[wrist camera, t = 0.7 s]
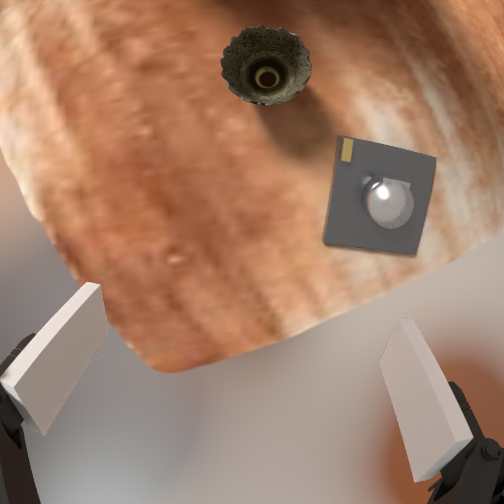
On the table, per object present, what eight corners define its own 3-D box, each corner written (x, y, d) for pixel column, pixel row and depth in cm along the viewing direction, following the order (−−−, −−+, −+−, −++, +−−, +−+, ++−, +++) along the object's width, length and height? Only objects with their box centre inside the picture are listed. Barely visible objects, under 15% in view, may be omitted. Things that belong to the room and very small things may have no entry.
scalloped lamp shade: (309, 56, 27) (319, 34, 20) (295, 118, 30) (302, 113, 22) (240, 43, 27) (230, 18, 19) (226, 104, 30) (211, 96, 22)
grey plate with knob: (337, 135, 30) (346, 135, 26) (432, 157, 30) (449, 161, 26) (322, 239, 35) (327, 252, 31) (412, 251, 34) (425, 264, 31)
